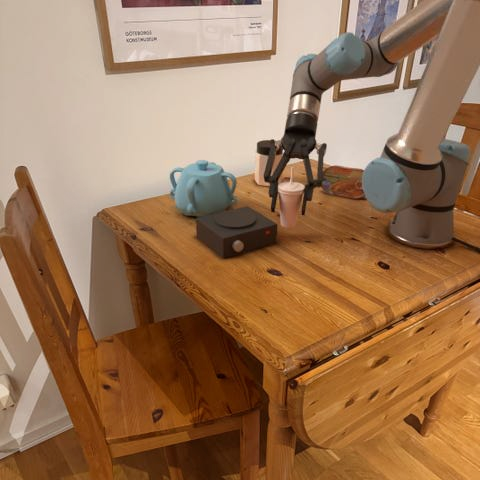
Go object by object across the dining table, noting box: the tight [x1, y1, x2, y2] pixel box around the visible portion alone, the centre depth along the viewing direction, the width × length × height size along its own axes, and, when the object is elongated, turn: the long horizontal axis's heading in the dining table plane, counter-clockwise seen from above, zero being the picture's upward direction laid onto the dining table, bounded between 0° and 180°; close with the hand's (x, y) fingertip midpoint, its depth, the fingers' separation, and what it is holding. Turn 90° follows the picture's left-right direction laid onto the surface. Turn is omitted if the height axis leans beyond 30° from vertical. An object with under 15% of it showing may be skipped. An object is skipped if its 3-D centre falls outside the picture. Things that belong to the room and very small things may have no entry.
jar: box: [254, 139, 284, 187], centre depth 139 cm, size 9×8×12 cm
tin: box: [320, 164, 365, 200], centre depth 132 cm, size 15×3×8 cm, turn 63°
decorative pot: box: [169, 159, 239, 218], centre depth 119 cm, size 16×16×14 cm
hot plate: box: [195, 205, 279, 259], centre depth 107 cm, size 14×15×6 cm
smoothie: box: [277, 165, 305, 229], centre depth 105 cm, size 6×6×14 cm
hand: (287, 211), depth 103 cm, fingers closed on smoothie, 6 cm apart
